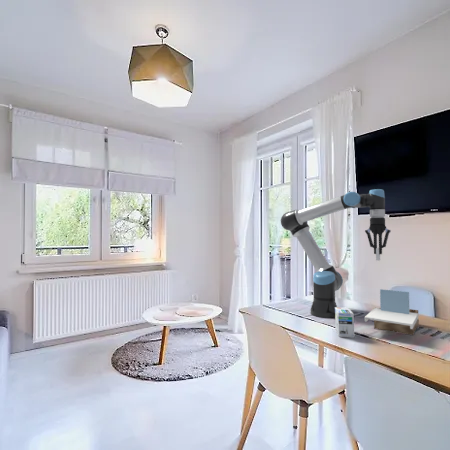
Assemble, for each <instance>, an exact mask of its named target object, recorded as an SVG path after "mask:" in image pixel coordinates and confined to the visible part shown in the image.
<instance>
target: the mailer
mask: <svg viewBox="0 0 450 450" xmlns="http://www.w3.org/2000/svg"><path fill="white" fill-rule="evenodd" d="M409 312H411V313H418V314H419V309H418V310H417V309H412V308H409ZM419 324H420V323H419V319H418V320H417V321H416V323H415V325H414V327H413V329H410V326H408V325H401V324H395V323H389V322H382V321H376V320H373V328H374V329H376V330H381V331H386V332H392V333H398V334H402V335H403V334H405V335H410V336H414V335H415V332H416V331H417V329H418V326H419Z"/></svg>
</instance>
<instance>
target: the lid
mask: <svg viewBox="0 0 450 450" xmlns="http://www.w3.org/2000/svg"><path fill="white" fill-rule="evenodd" d="M379 294H380V296H379V298H380V300H379V301H380V307H375V308H373V309H372V310H370V311H369V312H368V313H367V314H366V315H365V316H364V322H365V323H366V322H368V321H369V320H370V321H374V320H376V321H382V322H389V323H395V324H401V325H408V326H410V329H413V327H414V325H415V323H416V321H417V320H419V312H418V313H411V312H409V309H410V291H402V290H390V289H382V288H381V289H379Z"/></svg>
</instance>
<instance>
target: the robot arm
mask: <svg viewBox="0 0 450 450" xmlns="http://www.w3.org/2000/svg"><path fill="white" fill-rule="evenodd" d="M356 208H357V209H359V208H360V209H361V208H369V217H370V218H369V226H368V227H369V228H368V229H366V230H364V232H365V233H366V236H367V239H368V243H369V247H370V248H373V254H374V255H375V258H376V259H375V261H381V255H383V248H386V246H387V242H388V239H389V236H390V235H389V234H390V233H391V231H392V230H391V229H388V228H387V226H386V218H385V216H386V209H385V208H386V196H385V190H384V189H380V188H377V189H375V188H374V189H370V190H369V192H368V193H361V194H360V193H358V192H356V191H348V192H346V193H345V194H343V195H340V196H337V197H334V198H332V199H328V200H325V201H322V202H320V203H319V202H318V203H317V204H314V205H310V206H309V207H305V208H302V209H294V210H291V211H287V212H285V213H283V215H282V216H281V217H280V225H281V227H282V228H283V229H284V230H286V231H290V233H291V235H292V236H293V237H294V238H296V239H297V240H298V242H299V244H300V245H301V247H302V249H303V251H304V252H305V254H306V256H307V257H308V259H309V261H310V263H311V265H312V266H313V268H314V270H315V272H314V273H313V277H312V284H313V285H312V286H313V289H312V290H313V294H312V295H313V300H312V304H311V307H310V309H309V311H310V315H312V316H314V317H318V318H325V319H326V318H327V319H329V318H335V307H338V305H337V302H336V291H338V290H340V289H341V287H342V286H343V280H344V279H343V276H342V274H341V273H340V272H338V271H337V270H336V268H335V267H334V266H333V264H329V262H328V261H327V258H326V257H325V255H324V253H323V252H322V250H321V249H320V247H319V245H318V244H317V241H316V240H315V238H314V237H313V235H312V234H311V231H310V225H309V224H308V222H310V221H312V220H315V219H319V218H321V217H324V216H327V215H330V214H334V213H336V212H339V211H344V210H346V209H356ZM384 232H385V235H384V239H383V233H384ZM371 233H372V234H373V235H371ZM372 236H373V238H372ZM372 239H373V240H372Z"/></svg>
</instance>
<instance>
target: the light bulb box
mask: <svg viewBox="0 0 450 450" xmlns="http://www.w3.org/2000/svg"><path fill="white" fill-rule="evenodd" d="M334 318H335V321H334V322H335V332H336V333H337V336H338V337H339V338H351V339H355V314H354V312H353V310H351V309H350V307H339V306H337V307H335V317H334Z"/></svg>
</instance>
